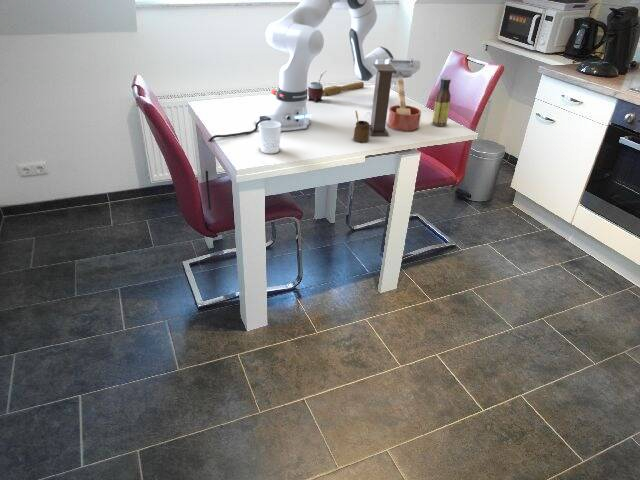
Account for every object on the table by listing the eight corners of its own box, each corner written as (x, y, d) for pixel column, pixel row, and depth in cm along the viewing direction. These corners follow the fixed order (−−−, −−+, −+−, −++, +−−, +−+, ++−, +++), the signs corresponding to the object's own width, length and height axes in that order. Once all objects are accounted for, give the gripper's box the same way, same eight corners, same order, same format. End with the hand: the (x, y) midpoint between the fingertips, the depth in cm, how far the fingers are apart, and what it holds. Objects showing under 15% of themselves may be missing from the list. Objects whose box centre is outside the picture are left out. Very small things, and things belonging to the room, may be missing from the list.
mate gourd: (307, 98, 237) (308, 66, 229) (323, 98, 238) (324, 66, 230) (308, 102, 231) (309, 70, 223) (324, 103, 232) (326, 70, 224)
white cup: (255, 151, 178) (255, 125, 172) (265, 144, 184) (264, 119, 178) (275, 155, 175) (275, 129, 170) (284, 148, 182) (284, 122, 176)
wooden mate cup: (370, 142, 192) (374, 112, 185) (355, 143, 190) (358, 113, 184) (365, 136, 196) (368, 107, 190) (350, 137, 195) (353, 108, 188)
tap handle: (364, 82, 256) (322, 90, 239) (363, 88, 258) (322, 96, 240) (360, 80, 258) (318, 88, 240) (359, 86, 260) (318, 95, 242)
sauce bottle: (447, 123, 215) (456, 78, 204) (444, 127, 210) (453, 81, 200) (433, 121, 217) (441, 75, 207) (429, 125, 212) (437, 78, 202)
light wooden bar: (392, 80, 214) (393, 77, 212) (406, 80, 215) (407, 78, 213) (396, 125, 208) (398, 122, 206) (410, 125, 209) (411, 123, 207)
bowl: (402, 133, 202) (404, 117, 198) (381, 123, 211) (382, 107, 207) (425, 128, 209) (427, 112, 205) (403, 119, 218) (405, 103, 214)
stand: (366, 127, 206) (373, 63, 192) (382, 127, 207) (390, 64, 193) (371, 135, 198) (378, 70, 184) (387, 136, 198) (396, 70, 184)
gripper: (371, 62, 223) (378, 52, 210) (414, 63, 226) (424, 53, 212) (371, 75, 224) (378, 66, 210) (414, 77, 226) (423, 68, 212)
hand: (401, 60), depth 211 cm, fingers open, 8 cm apart
